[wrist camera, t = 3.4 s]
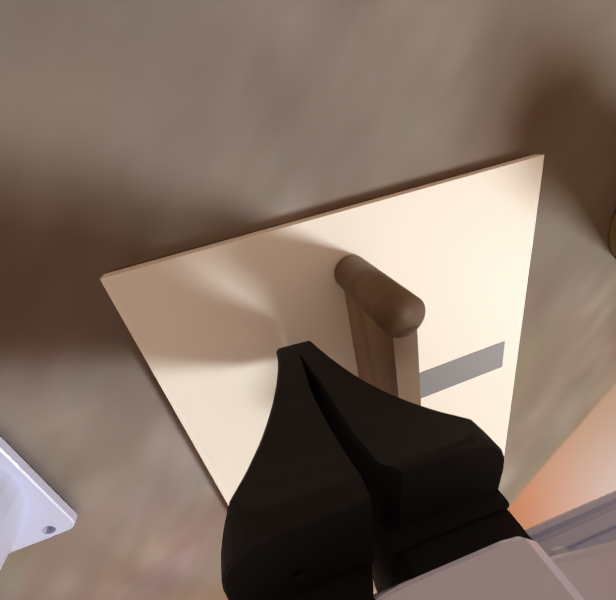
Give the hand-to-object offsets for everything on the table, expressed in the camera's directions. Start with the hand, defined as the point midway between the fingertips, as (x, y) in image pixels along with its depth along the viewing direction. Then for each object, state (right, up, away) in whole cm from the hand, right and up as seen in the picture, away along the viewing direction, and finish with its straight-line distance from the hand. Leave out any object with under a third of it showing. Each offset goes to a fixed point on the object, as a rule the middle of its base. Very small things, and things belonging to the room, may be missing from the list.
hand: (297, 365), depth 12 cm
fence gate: (+3, +1, +2) cm, 3 cm away
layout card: (+4, -2, +4) cm, 6 cm away
